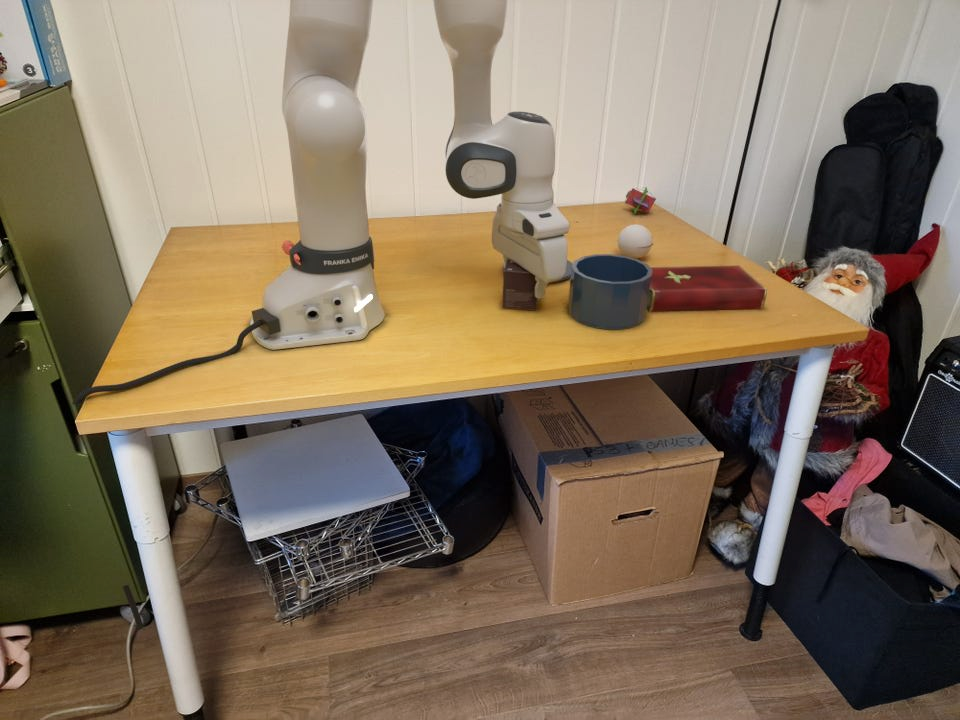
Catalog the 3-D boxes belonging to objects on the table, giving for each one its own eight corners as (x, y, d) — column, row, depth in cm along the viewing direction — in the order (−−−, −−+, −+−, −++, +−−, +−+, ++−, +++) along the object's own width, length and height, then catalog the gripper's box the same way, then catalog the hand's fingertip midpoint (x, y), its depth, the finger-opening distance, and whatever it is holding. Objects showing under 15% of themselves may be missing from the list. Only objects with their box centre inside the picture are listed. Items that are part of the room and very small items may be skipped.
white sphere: (628, 266, 136) (632, 232, 132) (608, 254, 142) (612, 222, 138) (667, 260, 139) (672, 226, 136) (646, 248, 145) (651, 216, 141)
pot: (597, 336, 108) (603, 288, 104) (554, 305, 118) (557, 261, 114) (661, 320, 113) (669, 275, 109) (614, 292, 124) (619, 249, 120)
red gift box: (659, 202, 170) (643, 176, 167) (662, 209, 164) (646, 183, 162) (634, 217, 173) (619, 192, 170) (636, 225, 167) (620, 199, 164)
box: (535, 311, 116) (537, 273, 112) (501, 308, 117) (502, 270, 113) (538, 298, 121) (540, 261, 117) (506, 295, 122) (507, 258, 118)
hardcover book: (763, 309, 117) (768, 288, 115) (650, 312, 116) (653, 290, 114) (735, 284, 128) (739, 264, 126) (631, 286, 126) (634, 266, 124)
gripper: (483, 200, 118) (483, 271, 124) (542, 232, 102) (539, 312, 109) (513, 195, 120) (512, 265, 127) (575, 226, 104) (570, 304, 111)
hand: (525, 287), depth 118 cm, fingers closed on box, 8 cm apart
